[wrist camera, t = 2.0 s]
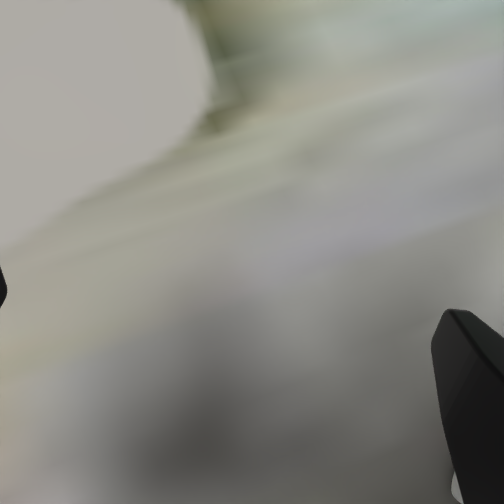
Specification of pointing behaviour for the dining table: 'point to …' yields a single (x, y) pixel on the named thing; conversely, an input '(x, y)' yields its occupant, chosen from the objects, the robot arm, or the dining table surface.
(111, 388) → the dining table surface
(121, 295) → the dining table surface
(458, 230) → the dining table surface
